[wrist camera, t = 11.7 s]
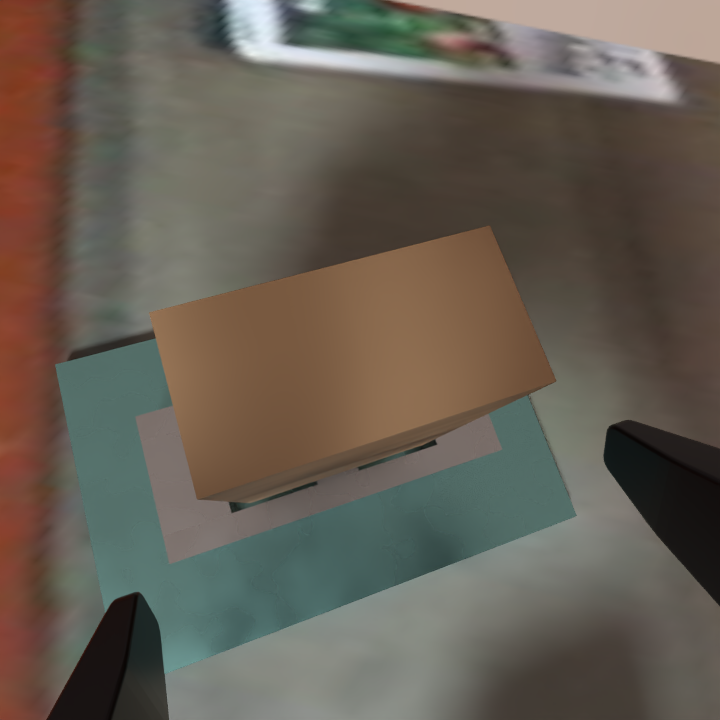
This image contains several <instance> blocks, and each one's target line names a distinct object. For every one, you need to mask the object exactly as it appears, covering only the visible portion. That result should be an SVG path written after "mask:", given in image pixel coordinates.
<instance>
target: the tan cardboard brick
mask: <svg viewBox="0 0 720 720" xmlns="http://www.w3.org/2000/svg"><path fill="white" fill-rule="evenodd" d="M149 314H150V318H151V322H152V325H153V329H154V333H155V337H156V341H157V345H158V349H159V353H160V357H161V361H162V365H163V369H164V372H165V376H166V380H167V384H168V388H169V392H170V396H171V400H172V404H173V408H174V412H175V416H176V419H177V423H178V427H179V431H180V435H181V439H182V443H183V447H184V451H185V455H186V459H187V462H188V466H189V470H190V474H191V478H192V482H193V486H194V490H195V494H196V498H197V500H210V501H226V502H241V503H252V502H255V501H258V500H261V499H264V498H267V497H270V496H273V495H276V494H279V493H282V492H285V491H287V490H290V489H293V488H296V487H299V486H302V485H305V484H308V483H311V482H314V481H317V480H320V479H323V478H326V477H329V476H332V475H335V474H338V473H341V472H344V471H347V470H350V469H353V468H356V467H359V466H362V465H365V464H368V463H370V462H373V461H376V460H379V459H382V458H385V457H388V456H391V455H394V454H397V453H400V452H403V451H406V450H409V449H412V448H415V447H418V446H421V445H424V444H426V443H428V442H430V441H432V440H434V439H436V438H438V437H440V436H443V435H445V434H447V433H449V432H451V431H453V430H455V429H457V428H459V427H461V426H464V425H466V424H468V423H470V422H472V421H474V420H476V419H478V418H480V417H482V416H485V415H487V414H489V413H491V412H493V411H495V410H497V409H499V408H501V407H503V406H506V405H508V404H510V403H512V402H514V401H516V400H518V399H520V398H522V397H524V396H526V395H529V394H531V393H533V392H535V391H537V390H539V389H541V388H543V387H545V386H547V385H550V384H552V383H554V382H556V379H555V376H554V374H553V372H552V369H551V367H550V365H549V362H548V360H547V358H546V355H545V353H544V351H543V348H542V346H541V344H540V341H539V339H538V337H537V334H536V332H535V330H534V327H533V325H532V323H531V320H530V318H529V316H528V313H527V311H526V309H525V306H524V304H523V302H522V299H521V297H520V295H519V292H518V290H517V288H516V285H515V283H514V281H513V278H512V276H511V274H510V271H509V269H508V267H507V264H506V262H505V260H504V257H503V255H502V253H501V250H500V248H499V246H498V243H497V241H496V239H495V236H494V234H493V232H492V229H491V227H490V225H489V226H485V227H481V228H478V229H474V230H470V231H466V232H462V233H458V234H454V235H450V236H446V237H442V238H438V239H435V240H431V241H427V242H423V243H419V244H415V245H411V246H407V247H403V248H399V249H396V250H392V251H388V252H384V253H380V254H376V255H372V256H368V257H364V258H360V259H356V260H353V261H349V262H345V263H341V264H337V265H333V266H329V267H325V268H321V269H317V270H313V271H310V272H306V273H302V274H298V275H294V276H290V277H286V278H282V279H278V280H274V281H270V282H267V283H263V284H259V285H255V286H251V287H247V288H243V289H239V290H235V291H231V292H227V293H224V294H220V295H216V296H212V297H208V298H204V299H200V300H196V301H192V302H188V303H185V304H181V305H177V306H173V307H169V308H165V309H161V310H157V311H153V312H149Z"/></svg>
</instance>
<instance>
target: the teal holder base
mask: <svg viewBox="0 0 720 720" xmlns="http://www.w3.org/2000/svg"><path fill="white" fill-rule="evenodd" d="M55 366H56V371H57V376H58V381H59V386H60V390H61V395H62V400H63V405H64V410H65V415H66V420H67V425H68V430H69V435H70V440H71V445H72V450H73V455H74V460H75V465H76V470H77V475H78V480H79V485H80V490H81V495H82V500H83V504H84V509H85V514H86V519H87V524H88V529H89V534H90V539H91V544H92V549H93V554H94V559H95V564H96V569H97V574H98V579H99V584H100V589H101V594H102V599H103V604H104V609H105V613H106V611H107V609H108V607H109V606H110V604H111V603H112V602H113V601H114V600H115V599H117V598H119V597H122V596H125V595H128V594H130V593H133V592H140V593H141V594H142V595H143V596H144V598H145V600H146V601H147V603H148V605H149V607H150V608H151V610H152V612H153V614H154V615H155V617H156V619H157V621H158V624H159V628H160V634H161V643H162V653H163V663H164V674H166V673H169V672H171V671H174V670H177V669H179V668H182V667H184V666H187V665H190V664H192V663H195V662H197V661H200V660H203V659H205V658H208V657H210V656H213V655H216V654H218V653H221V652H223V651H226V650H229V649H231V648H234V647H236V646H239V645H242V644H244V643H247V642H250V641H252V640H255V639H257V638H260V637H263V636H265V635H268V634H270V633H273V632H276V631H278V630H281V629H283V628H286V627H289V626H291V625H294V624H296V623H299V622H302V621H304V620H307V619H309V618H312V617H315V616H317V615H320V614H322V613H325V612H328V611H330V610H333V609H336V608H338V607H341V606H343V605H346V604H349V603H351V602H354V601H356V600H359V599H362V598H364V597H367V596H369V595H372V594H375V593H377V592H380V591H382V590H385V589H388V588H390V587H393V586H395V585H398V584H401V583H403V582H406V581H409V580H411V579H414V578H416V577H419V576H422V575H424V574H427V573H429V572H432V571H435V570H437V569H440V568H442V567H445V566H448V565H450V564H453V563H455V562H458V561H461V560H463V559H466V558H468V557H471V556H474V555H476V554H479V553H481V552H484V551H487V550H489V549H492V548H495V547H497V546H500V545H502V544H505V543H508V542H510V541H513V540H515V539H518V538H521V537H523V536H526V535H528V534H531V533H534V532H536V531H539V530H541V529H544V528H547V527H549V526H552V525H554V524H557V523H560V522H562V521H565V520H567V519H570V518H573V517H575V516H577V515H576V513H575V511H574V508H573V506H572V503H571V501H570V498H569V496H568V493H567V491H566V488H565V486H564V484H563V481H562V479H561V476H560V474H559V471H558V469H557V466H556V464H555V461H554V459H553V457H552V454H551V452H550V449H549V447H548V444H547V442H546V439H545V437H544V434H543V432H542V430H541V427H540V425H539V422H538V420H537V417H536V415H535V412H534V410H533V407H532V405H531V403H530V400H529V398H528V395H526V396H524V397H522V398H520V399H518V400H516V401H514V402H512V403H510V404H508V405H506V406H503V407H501V408H499V409H497V410H495V411H493V412H491V413H489V414H487V415H485V416H482V417H480V418H478V419H476V420H474V421H472V422H470V423H468V424H466V425H464V426H461V427H459V428H457V429H455V430H453V431H451V432H449V433H447V434H445V435H443V436H440V437H438V438H436V439H434V440H432V441H430V442H428V443H426V444H424V445H421V446H418V447H415V448H412V449H409V450H406V451H403V452H400V453H397V454H394V455H391V456H388V457H385V458H382V459H379V460H376V461H373V462H370V463H368V464H365V465H362V466H359V467H356V468H353V469H350V470H347V471H344V472H341V473H338V474H335V475H332V476H329V477H326V478H323V479H320V480H317V481H314V482H311V483H308V484H305V485H302V486H299V487H296V488H293V489H290V490H287V491H285V492H282V493H279V494H276V495H273V496H270V497H267V498H264V499H261V500H258V501H255V502H252V503H241V502H226V501H210V500H197V498H196V494H195V490H194V486H193V482H192V478H191V474H190V470H189V466H188V462H187V459H186V455H185V451H184V447H183V443H182V439H181V435H180V431H179V427H178V423H177V419H176V416H175V412H174V408H173V404H172V400H171V396H170V392H169V388H168V384H167V380H166V376H165V372H164V369H163V365H162V361H161V357H160V353H159V349H158V345H157V341H156V338H155V339H151V340H148V341H144V342H140V343H136V344H132V345H128V346H125V347H121V348H117V349H113V350H109V351H105V352H102V353H98V354H94V355H90V356H86V357H82V358H79V359H75V360H71V361H67V362H63V363H59V364H56V365H55Z"/></svg>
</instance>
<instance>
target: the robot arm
mask: <svg viewBox="0 0 720 720" xmlns="http://www.w3.org/2000/svg"><path fill="white" fill-rule="evenodd" d="M604 462H605V465H606V467H607V468H608V470H609V471H610V473H611V474H612V476H613V477H614V478H615V480H616V481H617V482H618V484H619V485H620V486H621V488H622V489H623V491H624V492H625V493H626V495H627V496H628V497H629V499H630V500H631V502H632V503H633V504H634V506H635V507H636V508H637V510H638V511H639V512H640V514H641V515H642V517H643V518H644V519H645V521H646V522H647V523H648V525H649V526H650V527H651V528H652V530H653V531H654V532H655V533H656V535H657V536H658V537H659V538H660V539H661V541H662V542H663V543H664V544H665V545H666V546H667V547H668V549H669V550H670V551H671V552H672V553H673V554H674V555H675V556H676V558H677V559H678V560H679V561H680V562H681V563H682V564H683V565H684V567H685V568H686V569H687V570H688V571H689V572H690V573H691V574H692V576H693V577H694V578H695V579H696V580H697V581H698V582H699V583H700V585H701V586H702V587H703V588H704V589H705V590H706V591H707V592H708V594H709V595H710V596H711V597H712V598H713V599H714V600H715V601H716V603H717V604H718V605H719V606H720V449H719V448H716V447H713V446H710V445H707V444H704V443H701V442H698V441H694V440H691V439H688V438H685V437H682V436H679V435H676V434H673V433H670V432H666V431H663V430H660V429H657V428H654V427H651V426H648V425H645V424H642V423H639V422H635V421H632V420H624V421H621V422H618V423H616V424H613V425H611V426H609V428H608V429H607V433H606V441H605V448H604ZM46 720H169V715H168V704H167V694H166V684H165V674H164V663H163V653H162V643H161V634H160V628H159V624H158V621H157V619H156V617H155V615H154V614H153V612H152V610H151V608H150V607H149V605H148V603H147V601H146V600H145V598H144V596H143V595H142V594H141V593H140V592H133V593H130V594H128V595H125V596H122V597H119V598H117V599H115V600H114V601H113V602H112V603H111V604H110V606H109V607H108V609H107V611H106V613H105V615H104V616H103V618H102V620H101V622H100V624H99V625H98V627H97V629H96V631H95V633H94V634H93V636H92V638H91V640H90V642H89V644H88V645H87V647H86V649H85V651H84V653H83V654H82V656H81V658H80V660H79V662H78V663H77V665H76V667H75V669H74V671H73V672H72V674H71V676H70V678H69V680H68V681H67V683H66V685H65V687H64V689H63V690H62V692H61V694H60V696H59V698H58V700H57V701H56V703H55V705H54V707H53V709H52V710H51V712H50V714H49V716H48V718H47V719H46Z"/></svg>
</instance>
